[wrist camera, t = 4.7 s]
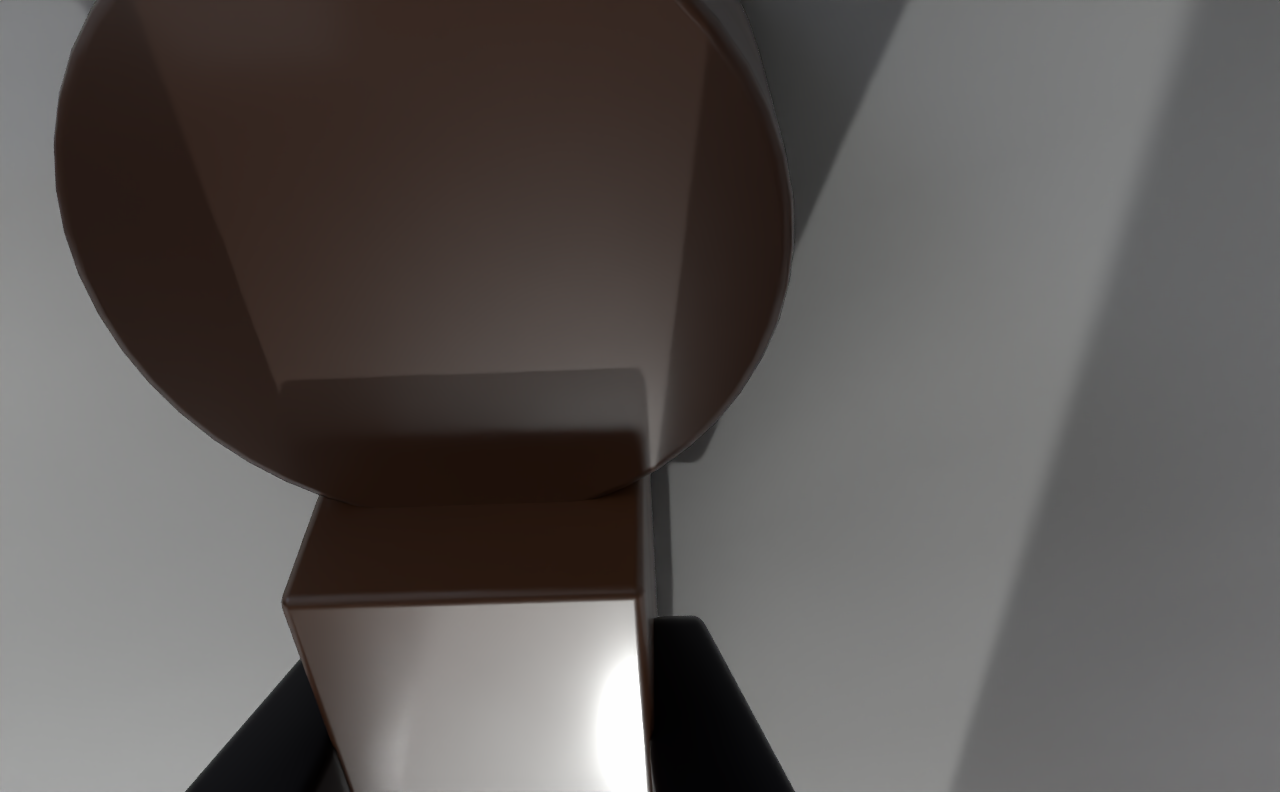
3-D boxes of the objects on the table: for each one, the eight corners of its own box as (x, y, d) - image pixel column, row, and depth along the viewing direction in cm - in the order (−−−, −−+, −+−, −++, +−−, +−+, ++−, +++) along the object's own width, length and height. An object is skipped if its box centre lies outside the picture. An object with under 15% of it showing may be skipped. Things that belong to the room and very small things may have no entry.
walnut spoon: (749, 800, 12) (769, 1035, 10) (389, 809, 12) (341, 1043, 10) (778, -215, 6) (845, -124, 4) (64, -179, 6) (-213, -70, 4)
